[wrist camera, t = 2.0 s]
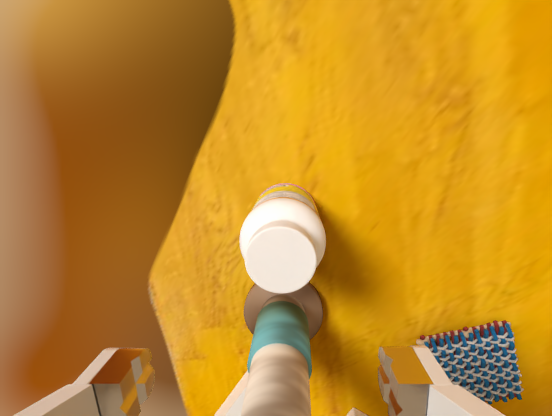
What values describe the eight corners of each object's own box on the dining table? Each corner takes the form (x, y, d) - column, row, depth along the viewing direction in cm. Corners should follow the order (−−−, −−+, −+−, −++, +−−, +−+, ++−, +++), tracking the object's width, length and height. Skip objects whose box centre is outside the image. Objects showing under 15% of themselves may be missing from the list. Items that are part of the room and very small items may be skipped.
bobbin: (337, 298, 32) (400, 535, 13) (294, 353, 35) (294, 626, 15) (271, 258, 32) (233, 445, 12) (231, 316, 34) (147, 553, 14)
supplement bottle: (299, 251, 31) (301, 324, 19) (245, 225, 31) (212, 282, 19) (328, 198, 30) (351, 241, 17) (271, 170, 29) (255, 193, 17)
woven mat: (428, 402, 36) (435, 418, 34) (411, 332, 33) (419, 344, 31) (516, 387, 34) (529, 403, 32) (505, 313, 32) (518, 324, 30)
